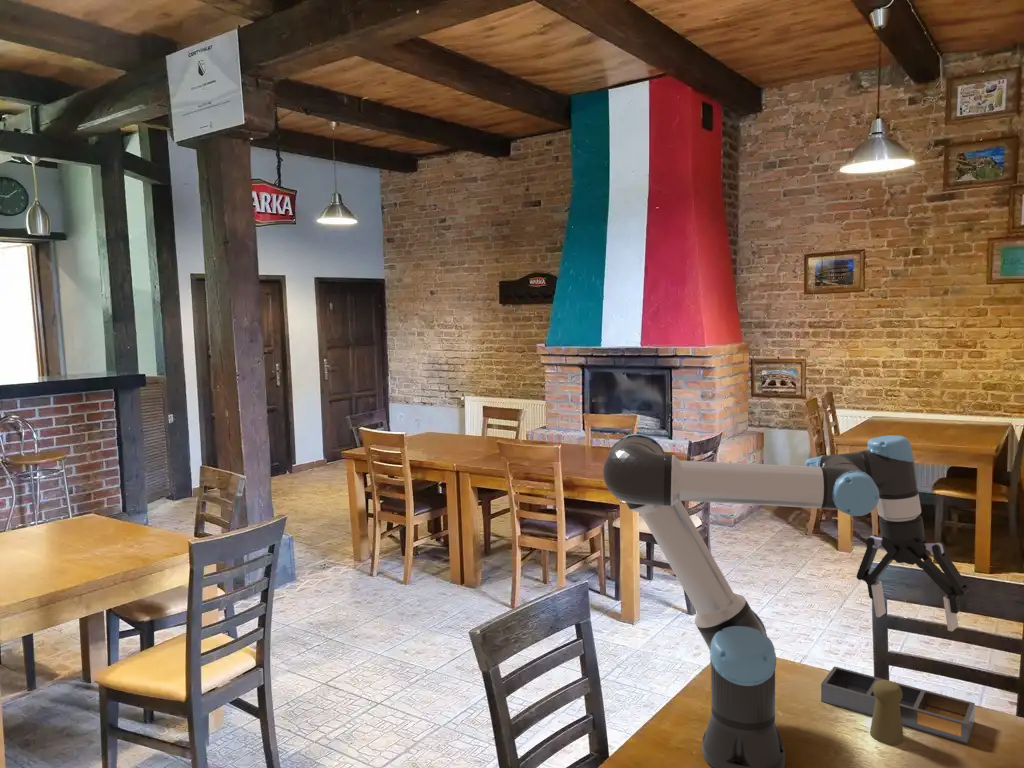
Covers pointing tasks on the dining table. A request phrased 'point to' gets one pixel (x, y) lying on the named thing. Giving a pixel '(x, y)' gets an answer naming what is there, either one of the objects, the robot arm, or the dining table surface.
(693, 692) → the dining table surface
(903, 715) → the rack
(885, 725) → the olive pawn-shaped piece
